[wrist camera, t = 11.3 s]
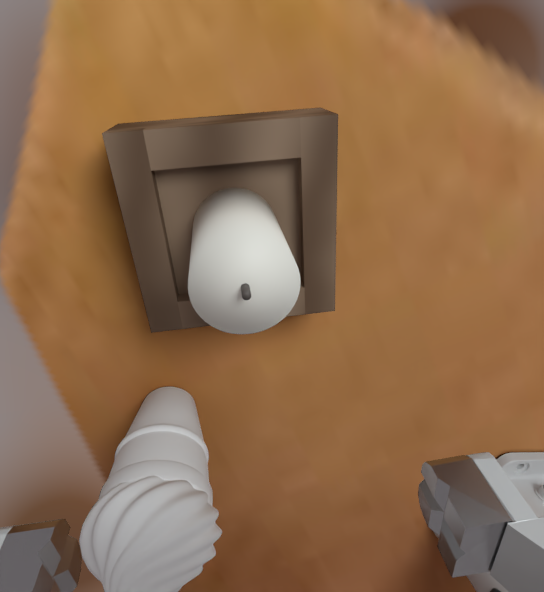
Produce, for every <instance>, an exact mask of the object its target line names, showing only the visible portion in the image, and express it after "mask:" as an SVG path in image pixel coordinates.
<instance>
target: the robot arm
mask: <svg viewBox="0 0 544 592" xmlns="http://www.w3.org/2000/svg"><path fill="white" fill-rule="evenodd" d="M421 473H422V475H423V477H424V480H423V481H422V482H421V483H420V484H419V490H418V497H419V503H420V508H421V511H422V514H423V516H424V519H425V521H426V523H427V525H428V527H429V528H430V529H432V530H433V531H434V533H435V535H436V536H437V537H438V538H439V540H438V546H437V547H438V549H439V551H440V553H441V555H442V557H443V559H444V562H445V564H446V566H447V568H448V570H449V572H450V574H451V576H452V577H459V576H467V577H468V579H469V581H470V582H471V584H472V585H473V587H474V588H475V590H476V592H544V452H518V453H507V454H504V455H502V456H500V457H499V458H498V459H495V458H494V456H493V455H491V454H490V453H489V452H482V453H477V454H471V455H466V456H465V455H461V456H455V457H449V458H444V459H438V460H432V461H427V462H425V463H424V464H423V465H422V470H421ZM69 530H70V526H69V524H68V523H67V521H66V519H59V520H53V521H45V522H39V523H32V524H24V525H17V526H9V527H3V528H0V592H72V591H73V590H74V589H75V588H76V587H77V584H78V580H79V576H80V572H81V560H82V554H81V548H80V545H79V543H78V541H77V539H75V538H73V537H71V536H69V535H68V534H69Z"/></svg>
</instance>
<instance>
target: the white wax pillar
mask: <svg viewBox="0 0 544 592" xmlns="http://www.w3.org/2000/svg"><path fill="white" fill-rule="evenodd" d="M300 282H301V280H300V273H299V269H298V266H297V264H296V262H295V259H294V257H293V255H292V253H291V250H290V248H289V246H288V244H287V242H286V239H285V237H284V235H283V233H282V230H281V228H280V226H279V224H278V222H277V219H276V217H275V215H274V213H273V210H272V209H271V207H270V205H269V204H268V203H267V202H266V200H264V199H263V198H262V197H261V196H260V195H258V194H257V193H255V192H253V191H250V190H248V189H243V188H227V189H222V190H219V191H217V192H215V193H213V194H212V195H210V196H209V197H207V198H206V199H205V200H204V201H203V202H202V203H201V205H200V206H199V208H198V210H197V212H196V214H195V217H194V221H193V231H192V242H191V253H190V265H189V276H188V294H189V298H190V301H191V304H192V306H193V308H194V309H195V311H196V313H197V314H198V315H199V316H200V317H201V318H202V319H203V320H204V321H205V322H206V323H208V324H209V325H211V326H212V327H214V328H216V329H218V330H221V331H224V332H228V333H233V334H251V333H257V332H260V331H263V330H266V329H268V328H270V327H272V326H274V325H276V324H277V323H279V322H280V321H281V320H282V319H284V318H285V317H286V316H287V315H288V313H289V312H290V311H291V310H292V308H293V307H294V305H295V303H296V301H297V298H298V295H299V292H300Z"/></svg>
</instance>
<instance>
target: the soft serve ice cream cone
mask: <svg viewBox="0 0 544 592" xmlns="http://www.w3.org/2000/svg"><path fill="white" fill-rule="evenodd" d="M208 459H209V455H208V449H207V446H206V444H205V443H204V440H203V436H202V431H201V427H200V423H199V418H198V414H197V409H196V405H195V401H194V399H193V398H192V396H191V395H190V394H189V393H188V392H186V391H185V390H183V389H180V388H177V387H162V388H158V389H156V390H154V391H152V392H151V393H149V394H148V395H147V396H146V398H145V399H144V401H143V403H142V405H141V407H140V409H139V411H138V413H137V415H136V417H135V419H134V421H133V423H132V425H131V427H130V429H129V430H128V432H127V434H126V436H125V438H124V439H123V440H122V441H121V443H120V444H119V445H118V447H117V450H116V452H115V462H114V464H113V467H112V469H111V472H110V475H109V478H108V480H107V481H106V483H105V484H104V485H103V487H102V489H101V492H100V496H99V500H98V501H97V502H96V504H95V505H94V506H93V508H92V509H91V511H90V512H89V514H88V515H87V517H86V520H85V521H84V524H83V525H82V530H81V534H80V539H79V542H80V548H81V554H82V558H83V560H84V562H85V564H86V566H87V568H88V570H89V571H90V572H91V573H92V574H93V575H94V576H95V577H96V578H97V579H98V580H99V581H101V582H102V585H103V588H104V592H178V591H179V590H180V589H181V587H182V586H183V585H185V584H186V583H187V582H189V581H190V580H192V579H193V578H195V577H196V576H198V575H199V574H200V573H201V572H202V570H203V564H204V563H206V562H207V561H209V560H211V559H212V558H213V557H214V556H215V555H216V551H215V548H214V546H213V543H214V542H215V541H216V540H218V539H219V538H220V536H221V534H222V530H221V529H220V528H219V526H218V525H217V524H216V523H215V521H216V519H217V517H218V516H219V511H218V510H217V509H216V508H214V507H213V506H212V502H213V493H212V488H211V486H210V483H209V475H208V465H207V464H208Z"/></svg>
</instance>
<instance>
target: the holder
mask: <svg viewBox="0 0 544 592" xmlns="http://www.w3.org/2000/svg"><path fill="white" fill-rule="evenodd" d="M102 135H103V139H104V143H105V147H106V151H107V155H108V159H109V163H110V167H111V171H112V175H113V180H114V184H115V188H116V192H117V196H118V200H119V204H120V208H121V212H122V216H123V220H124V224H125V228H126V232H127V236H128V240H129V244H130V248H131V252H132V256H133V260H134V264H135V268H136V272H137V276H138V280H139V284H140V288H141V292H142V296H143V300H144V304H145V308H146V313H147V317H148V321H149V325H150V329H151V333H152V332H160V331H169V330H177V329H186V328H194V327H202V326H211V325H209V324H208V323H206V322H205V321H204V320H203V319H202V318H201V317H200V316H199V315H198V314H197V313H196V311H195V309H194V308H193V306H192V304H191V301H190V298H189V294H188V276H189V265H190V253H191V242H192V231H193V221H194V217H195V214H196V212H197V210H198V208H199V206H200V205H201V203H202V202H203V201H204V200H205V199H206V198H207V197H209V196H210V195H212V194H213V193H215V192H217V191H219V190H222V189H227V188H243V189H248V190H250V191H253V192H255V193H257V194H258V195H260V196H261V197H262V198H263V199H264V200H266V202H267V203H268V204H269V205H270V207H271V209H272V210H273V213H274V215H275V217H276V219H277V222H278V224H279V226H280V228H281V230H282V233H283V235H284V237H285V239H286V242H287V244H288V246H289V248H290V250H291V253H292V255H293V257H294V259H295V262H296V264H297V266H298V269H299V273H300V280H301V282H300V292H299V295H298V298H297V301H296V303H295V305H294V307H293V308H292V310H291V311H290V312H289V313H288V315H287V316H295V315H303V314H312V313H320V312H328V311H335V271H336V208H337V146H338V114H336V113H333V112H331V111H328V110H325V109H323V108H311V109H298V110H286V111H273V112H261V113H248V114H236V115H223V116H210V117H198V118H185V119H173V120H160V121H148V122H135V123H123V124H117V125H115V126H114V127H112V128H110V129H109V130H107V131H105V132H104V133H102Z"/></svg>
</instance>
